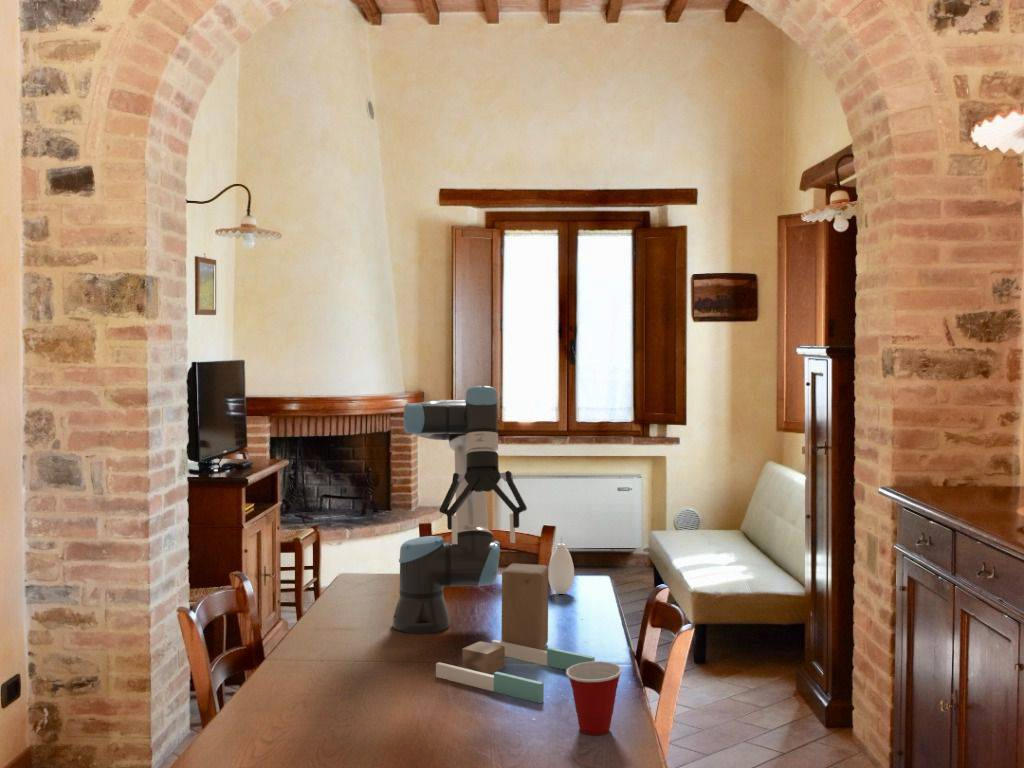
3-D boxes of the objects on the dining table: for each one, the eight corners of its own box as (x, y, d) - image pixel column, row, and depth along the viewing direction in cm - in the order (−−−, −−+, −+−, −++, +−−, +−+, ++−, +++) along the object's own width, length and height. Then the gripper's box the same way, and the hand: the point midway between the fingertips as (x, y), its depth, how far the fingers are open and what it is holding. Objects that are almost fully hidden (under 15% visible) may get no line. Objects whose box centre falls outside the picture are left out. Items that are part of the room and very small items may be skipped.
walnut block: (462, 670, 221) (462, 648, 221) (480, 662, 227) (480, 641, 227) (487, 675, 217) (487, 654, 217) (504, 667, 223) (504, 646, 223)
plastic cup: (561, 719, 191) (562, 659, 190) (615, 718, 192) (616, 658, 191) (569, 741, 180) (570, 678, 180) (626, 740, 181) (627, 677, 181)
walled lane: (435, 676, 216) (435, 659, 216) (494, 651, 234) (494, 635, 234) (540, 703, 200) (540, 684, 200) (594, 674, 218) (594, 657, 218)
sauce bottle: (544, 592, 294) (545, 533, 294) (569, 590, 296) (570, 532, 295) (552, 598, 286) (552, 538, 286) (577, 596, 288) (577, 537, 288)
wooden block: (540, 655, 231) (541, 573, 231) (500, 652, 234) (500, 570, 233) (548, 643, 241) (549, 564, 241) (509, 640, 244) (510, 562, 243)
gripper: (426, 452, 224) (426, 544, 220) (532, 447, 221) (535, 541, 216) (434, 456, 231) (434, 545, 227) (536, 451, 228) (539, 542, 224)
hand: (483, 543), depth 222 cm, fingers open, 13 cm apart
